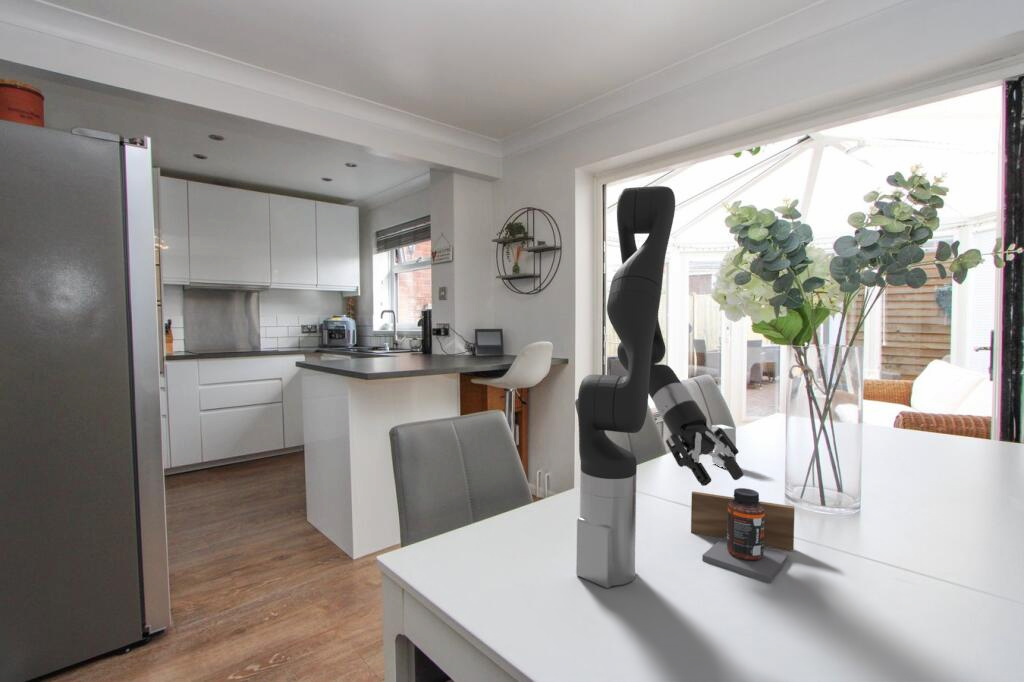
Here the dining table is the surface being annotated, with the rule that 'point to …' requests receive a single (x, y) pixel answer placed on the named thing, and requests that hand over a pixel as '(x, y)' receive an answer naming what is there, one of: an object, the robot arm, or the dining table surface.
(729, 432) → the grey upright block
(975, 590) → the dining table surface
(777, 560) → the charcoal pad
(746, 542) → the supplement bottle
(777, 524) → the walnut screen
